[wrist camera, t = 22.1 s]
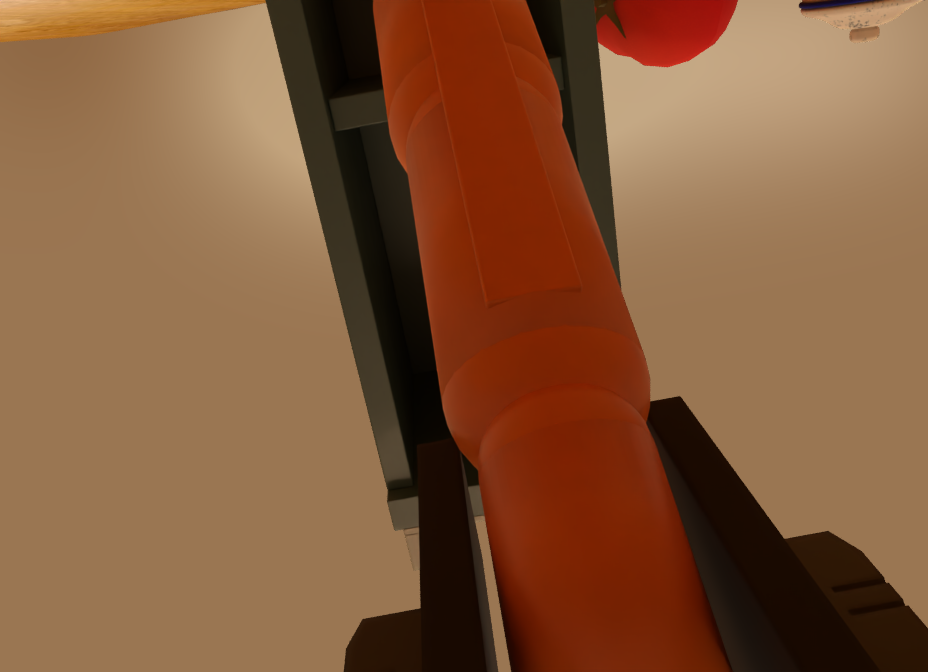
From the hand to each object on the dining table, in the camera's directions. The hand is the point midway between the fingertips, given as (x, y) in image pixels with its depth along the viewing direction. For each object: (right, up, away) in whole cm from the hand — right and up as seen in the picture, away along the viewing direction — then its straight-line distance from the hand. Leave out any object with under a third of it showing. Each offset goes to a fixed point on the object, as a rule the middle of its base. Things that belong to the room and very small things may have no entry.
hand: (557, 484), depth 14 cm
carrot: (-1, +7, 0) cm, 7 cm away
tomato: (+14, +37, +46) cm, 61 cm away
